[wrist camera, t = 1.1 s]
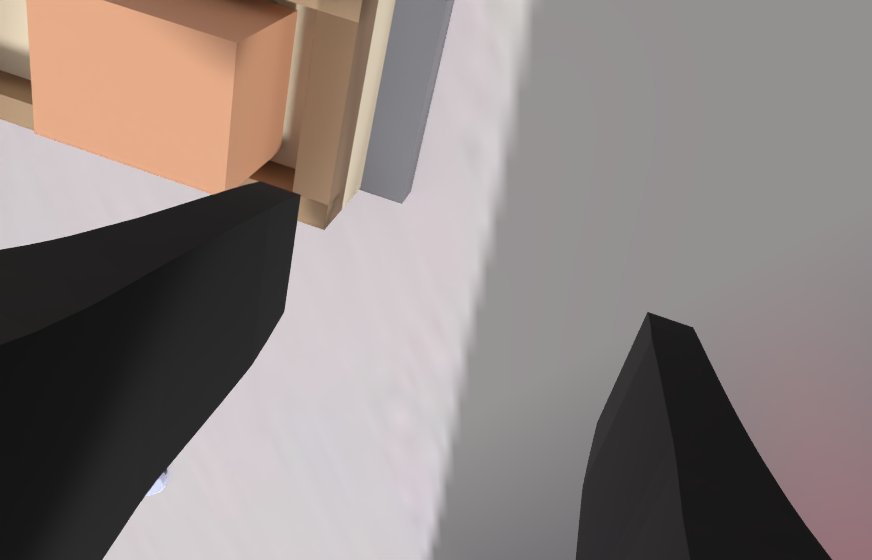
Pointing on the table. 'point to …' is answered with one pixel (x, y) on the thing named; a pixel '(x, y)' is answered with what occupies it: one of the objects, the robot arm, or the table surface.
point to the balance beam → (318, 97)
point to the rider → (164, 83)
